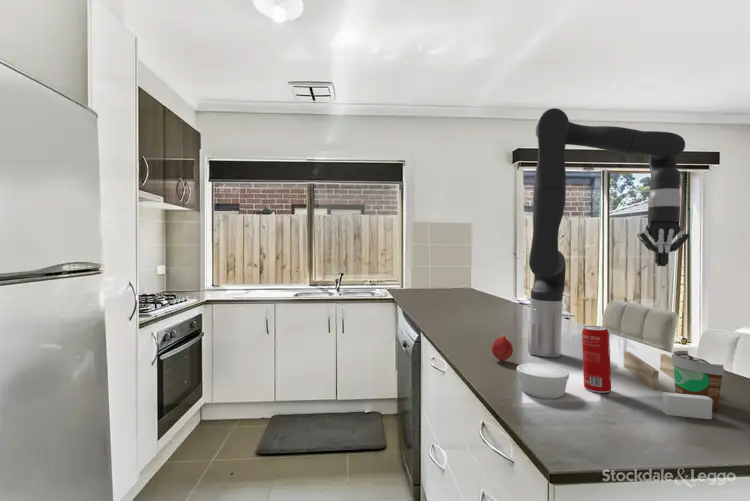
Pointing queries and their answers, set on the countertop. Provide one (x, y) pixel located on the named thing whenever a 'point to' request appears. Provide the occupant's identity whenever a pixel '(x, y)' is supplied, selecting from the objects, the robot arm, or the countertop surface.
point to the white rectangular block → (687, 405)
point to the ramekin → (542, 380)
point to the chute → (648, 369)
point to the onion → (502, 348)
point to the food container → (697, 377)
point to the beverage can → (596, 359)
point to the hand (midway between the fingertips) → (661, 266)
